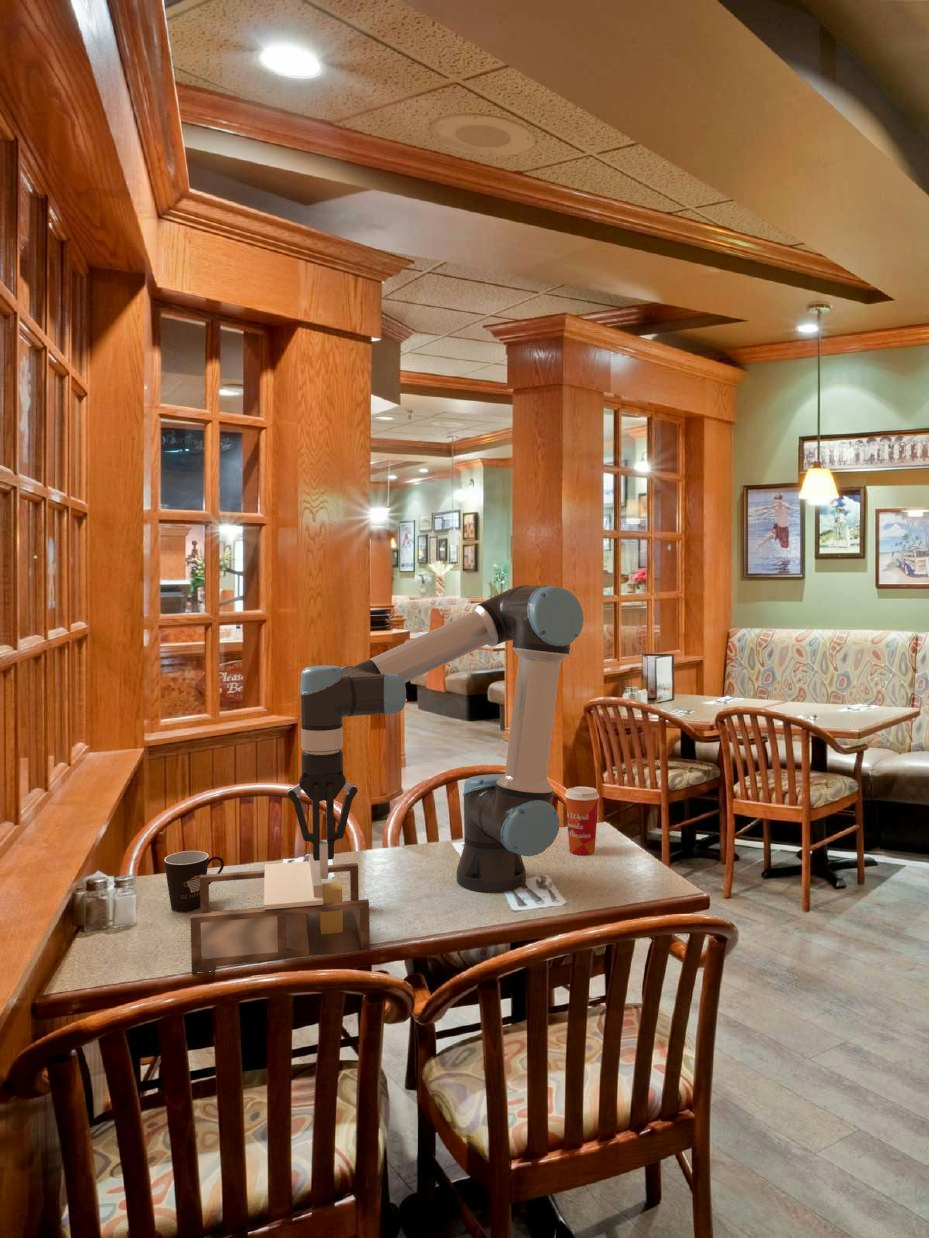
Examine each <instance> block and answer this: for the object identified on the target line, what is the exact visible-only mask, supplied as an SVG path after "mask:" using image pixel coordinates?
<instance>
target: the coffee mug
mask: <svg viewBox="0 0 929 1238" xmlns="http://www.w3.org/2000/svg"><path fill="white" fill-rule="evenodd" d="M209 856H210V855H209V854H208V853H207V852H205V851H201V850H186V851H179V852H175V853H172V854H169V855H167V856H165V857H164V859H163V863H164V868H165V869H164V870H165V874H166V875H165V876H166V882H167V889H168V895H169V903H170V909H171V911H174V912H178V913H189V912H193V911H194V912H195V911H198V910H201V906H200V875H208V867H209V865H210V864H211V862H213V861H215V860H217V861H219V862H220V868H219V870H218V871H217V872H216V874H221V873H222V871H223V870H224V867H225V862H224V860H223V858H221V857H220V856H212V857H210V858H209ZM211 883H213V882H209V886H210V885H211Z"/></svg>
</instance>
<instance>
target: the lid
mask: <svg viewBox="0 0 929 1238" xmlns="http://www.w3.org/2000/svg"><path fill="white" fill-rule="evenodd" d="M308 859H309V860H308V861H306V860H305V861H294V862H293V861H292V862H281V863H270V864H269V863H268V864H267V863H265V864H264V870H265V878H263V879H264V880H263V884H264V885H263V886H264V887H263V888H264V889H263V890H264V891H263V907H264V910H266V909H278V908H290V907H301V906H313V905H323V895H322V884H323V882H322V880H323V879H321V874H320V868H319V860H317V861H314V859H313V853H309V858H308Z"/></svg>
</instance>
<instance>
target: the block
mask: <svg viewBox="0 0 929 1238" xmlns="http://www.w3.org/2000/svg"><path fill="white" fill-rule="evenodd" d="M322 895H323V903H330V902H342V901H343V887H342V882H339V881H338V882H325V883H322ZM320 931H321V934H329V933H340V932H343V910H340V911H329V912H320Z"/></svg>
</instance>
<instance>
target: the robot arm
mask: <svg viewBox="0 0 929 1238" xmlns="http://www.w3.org/2000/svg"><path fill="white" fill-rule="evenodd" d="M584 617H585V616H584V611H583V608H582V605H581V603H580V601H579V600H578V599H577V597H576V596H575V595H574V594H573V592H571V591H569V590H568V589H566V588H563V587H559V586H554V585H552V584H551V585H529V584H528V585H524V584H523V585H519V586H515V587H512V588H509V589H507V590H505V591H502V592H501V593H499V594H497V595H494V596H492V597H490V598H488V599H486V600H485V601H483V602H480V603H478V604H476V605H474V606H473V607H472V609H471V612H470V613H467V614H465V615H463V616H460V617H459V618H457V619H455V620H452V621H449V622H448V623H446V624H443V625H441V626H438V627H437V628H435V629H433V630H431V631H428V632H426V633H424V634H422V635H419V636H417V637H415V638H413V639H410V640H409V641H408V640H407V641H406V642H404V643H402V644H399V645H397V646H395V647H393V648H391V649H388V650H386V651H384V652H381V653H380V654H378V655H376V656H373V657H371V658H369V659H367V660H365V661H362V662H360V663H358V664H356V665H347V666H342V667H340V666H338V665H311V666H307V667H304V668H303V669H302V671H301V674H300V676H301V677H300V690H299V695H300V713H301V714H300V718H301V719H300V720H301V728H300V730H301V731H300V737H301V739H300V741H301V742H300V743H301V745H300V746H301V748H300V749H302V750H303V752H302V753H301V776H300V778H299V780H298V784H297V785H294V787H289V788H288V789H287V796H288V798H289V799H290V801H291V802H292V803H293V806H294V811H295V813H296V818H297V821H298V825H299V828H300V832H301V835H302V836H301V837H302V839H303V841H304V842H308V843H309V842H310V843H311V844H312V854H313V859H314V861H317V860H318V862H319V868H320V874H321V880H328V879H329V873H328V865H329V860H334V858H335V843H336V841H339V840H341V839H343V838H345V832H346V828H347V825H348V819H349V814H350V810H351V806H352V802H353V800H354V798H355V796H356V795H357V793H358V787H357V786H356V784H352V783H350V782H348V781H347V780H346V776H345V775H344V752H343V751H342V750H341V749H343V747H344V739H343V737H344V736H343V734H344V732H343V731H344V730H343V729H344V728H343V726H344V725H343V720H344V717H355V716H356V717H357V716H372V715H385V716H386V715H388V714H389V715H390V714H395V713H397V714H398V713H400V712H402V711H403V709H404V708H405V706H406V701H407V688H406V684H407V683H408V682H410V681H413V680H414V679H416V678H418V677H420V676H423V675H425V674H427V673H429V672H432V671H434V670H436V669H438V668H440V667H442V666H444V665H447V664H448V663H450V662H453V661H455V660H457V659H459V658H461V657H463V656H466V655H468V654H469V653H472V652H474V651H476V650H478V649H481V648H482V647H484V646H488V647H496V646H497V645H499V644H503V643H506V642H510V641H512V647H511V648H512V650H513V652H514V653H515V654H516V656H517V657H518V661H517V670H516V676H515V677H516V678H515V687H514V695H513V704H512V711H511V718H510V719H511V721H510V727H509V728H510V729H509V737H508V746H507V753H506V754H507V755H506V763H505V764H506V765H505V771H504V773H496V774H495V773H493V774H492V773H490V774H483V775H482V774H481V775H475V776H470V777H468V778H467V779H465V781H464V786H463V792H462V796H463V826H464V827H463V831H464V832H463V834H464V846H463V847H462V848H463V849H462V853H461V856H460V858H459V862H458V865H457V867H456V883H457V884H458V885H459V886H461V887H463V888H465V889H467V890H471V891H476V892H483V893H497V892H507V891H511V890H516V889H518V888H520V887H522V886H523V885H525V883H526V882H527V870H526V866H525V864H524V861H523V858H522V856H523V857H533V856H537V855H541V854H542V853H544V852H545V851H546V850H547V849H548V848H550V847H551V846H552V845H553V843H554V842H555V840H556V838H557V836H558V834H559V831H560V825H561V824H560V817H559V814H558V812H557V809H555V807H554V806H553V805H552V802H553V797H554V796H553V795H554V787H553V785H551V783H550V782H549V781H548V774H549V773H548V772H549V764H550V763H549V762H550V756H551V747H552V738H553V731H554V724H555V723H554V721H555V713H556V704H557V695H558V688H559V679H560V678H559V677H560V671H561V664H562V662H563V661H564V660H566V659H567V658H568V657H569V656H570V651H571V643H573V642H575V640H576V639H577V638H578V637H579V636H580V634H581V632H582V630H583V626H584V622H585V621H584ZM342 790H343V794H344V797H343V802H342V805H341V810H340V814H339V818H338V823H337V827H336V830H335V819H334V818H335V817H334V816H335V813H334V811H335V809H334V805H335V801H334V800H335V799H336V798H337V797H338V796H339V794H340V793H341V791H342ZM301 791H303V792H304V794H305V795H306V796H307V798H308V799H309V800H310V801H311V806H312V807H311V809H312V810H311V814H312V817H311V818H312V819H311V820H312V821H311V822H312V827H311V828H312V832H310V831H309V828H308V823H307V820H306V817H305V812H304V809H303V805H302V802H301V797H302V792H301ZM320 802H325V807H326V809H325V810H326V811H325V812H326V815H325V816H326V817H325V818H326V821H325V822H326V825H325V826H326V828H325V829H326V839H321V837H320V835H321V833H320V831H321V829H320V820H321V819H320V807H321V804H320Z"/></svg>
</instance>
